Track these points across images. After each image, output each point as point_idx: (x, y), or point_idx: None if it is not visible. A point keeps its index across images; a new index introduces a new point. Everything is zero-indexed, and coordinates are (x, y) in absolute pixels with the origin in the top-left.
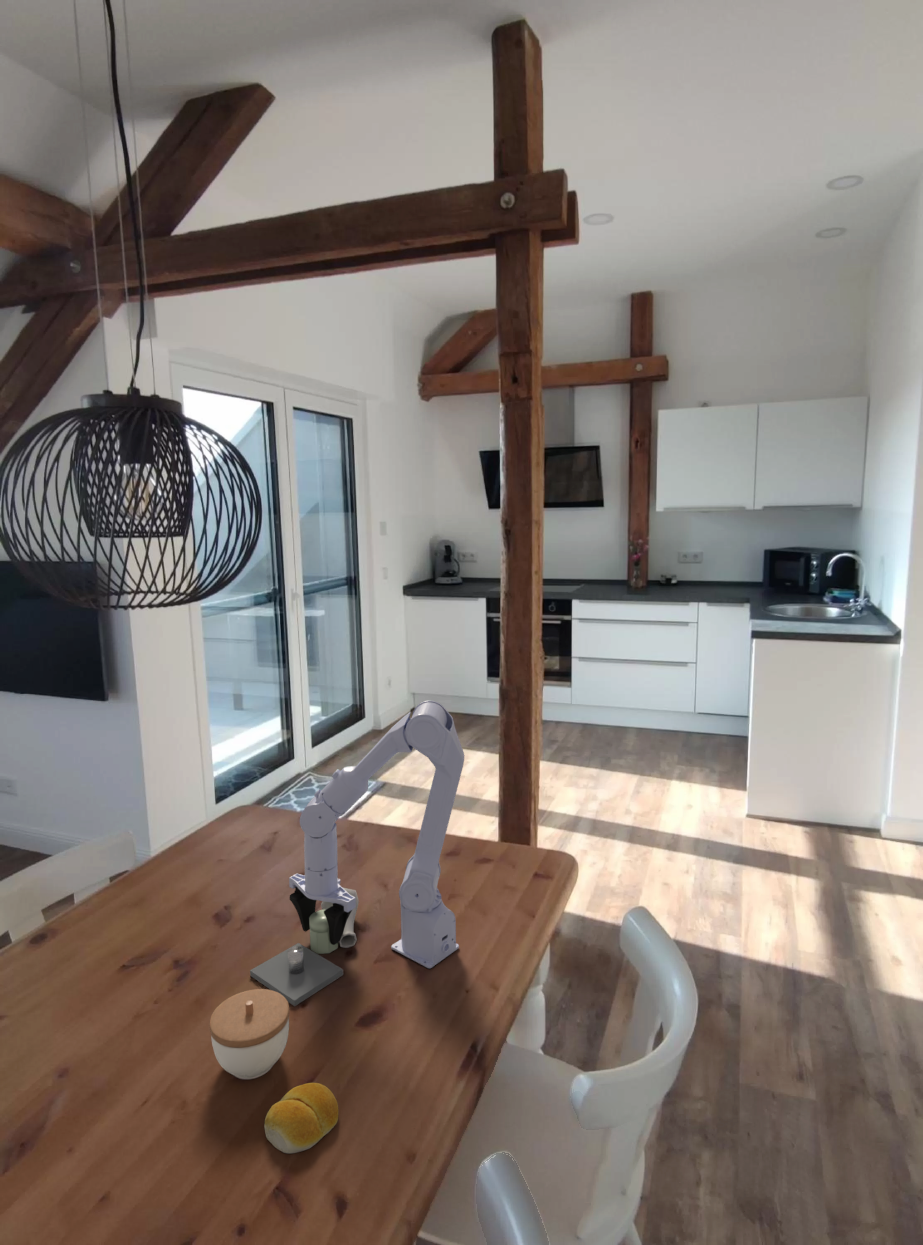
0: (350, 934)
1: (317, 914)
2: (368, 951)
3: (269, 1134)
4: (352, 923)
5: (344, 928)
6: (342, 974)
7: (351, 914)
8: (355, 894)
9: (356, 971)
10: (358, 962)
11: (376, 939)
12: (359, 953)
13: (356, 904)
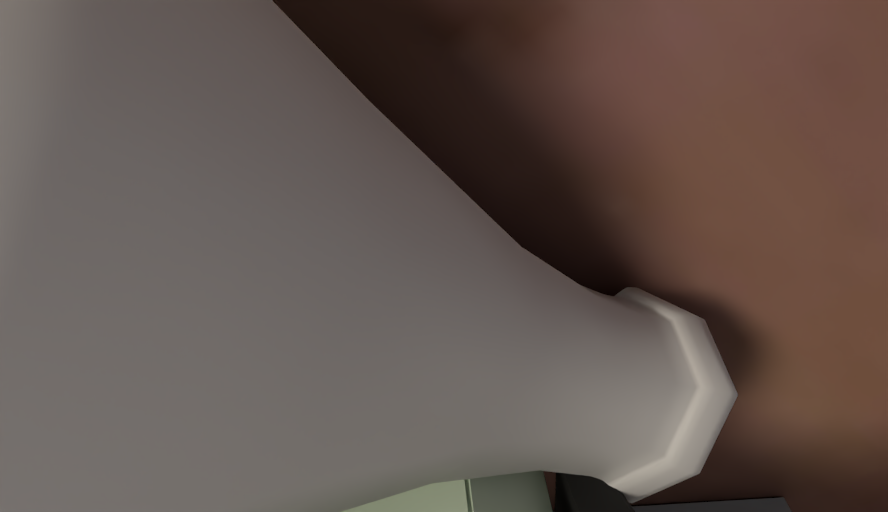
0: (703, 449)
1: None
2: (827, 246)
3: None
4: (571, 329)
5: (579, 459)
6: (785, 508)
7: (490, 338)
8: (31, 64)
9: (856, 436)
10: (816, 378)
11: (807, 46)
12: (757, 311)
13: (217, 10)
